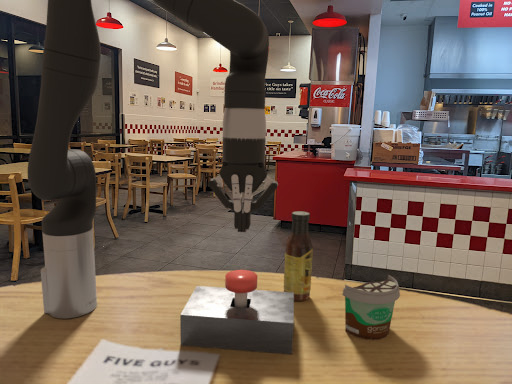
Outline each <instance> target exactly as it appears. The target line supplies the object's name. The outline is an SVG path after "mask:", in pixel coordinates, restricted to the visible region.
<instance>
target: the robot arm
mask: <svg viewBox="0 0 512 384" xmlns="http://www.w3.org/2000/svg"><path fill="white" fill-rule="evenodd" d="M152 1H153V2H155V4H157V5H158V6H159V7H161V8H162V9H163V10H164V11H166V12H168V13H169V14H170V15H172V16H174V17H175V18H177V19H178V20H179V21H181V22H183V23H185V24H186V25H188V26H190V27H191V28H193V29H195V30H196V31H199V32H201V33H204V34H205V35H207V36H208V37H210V38H211V39H212V40H214V41H215V42H217V43H218V44H219V45H221V46H222V47H224V48H225V49H227V50H228V51H229V73H228V75H227V76H226V78H225V83H224V90H223V91H224V94H223V95H224V96H223V97H224V104H223V105H224V107H223V108H224V109H223V118H222V119H223V120H222V159H221V160H222V165H221V167H220V169H219V174H218V175H217V176H215V177H213V178H211V179H210V180H209V181H208V182H207V185H208V187H209V188H210V190H211V191H212V192H213V193H214V195H215V196H216V197H217V198H218V200H219V201H220V203H221V204H222V205H223V206H224V208H226V209H230V210H232V211H233V213H234V215H233V219H234V221H233V222H234V223H233V225H234V229H237V233H247V230H249V229H250V228H251V227H250V226H252V223H251V221H252V220H251V218H252V217H251V216H252V211H255V210H257V211H258V210H260V209H261V208H262V206H263V205H264V204H265V203H266V202H267V200H268V199H269V198H270V197H271V195H273V193H274V192H275V191H276V190H277V189H278V187H279V183H278V181H276V180H273V178H271V177H270V176H269V175H268V169H267V167H266V142H267V141H266V139H267V138H266V136H267V120H266V110H265V109H266V74H267V70H268V69H267V67H268V61H269V51H270V49H269V48H270V39H269V37H270V35H269V32H268V30H267V26H266V25H265V24H264V22H263V20H262V18H261V16H259V14H257V13H256V12H255V11H253V10H252V9H250V8H249V7H247V6H245V5H244V4H243V3H240V2H239V1H236V0H152ZM46 9H47V11H46V22H45V23H46V25H45V36H44V43H43V50H42V62H41V80H40V91H39V98H38V99H39V100H38V109H37V115H36V123H35V127H34V133H33V138H32V142H31V147H30V151H29V157H28V162H27V163H28V164H27V171H26V172H27V180H28V181H27V182H28V185H29V188H30V190H31V192H32V193H33V195H35V196H36V198H37V199H39V200H42V201H55V200H57V202H56V205H55V206H54V207H53V208H52V209H51V210H50V211H49V212H48V213H47V214H45V215H44V216H43V217H42V219H41V233H42V243H43V245H42V246H43V254H44V266H43V267H42V268H41V269H40V279H41V280H40V281H41V292H42V304H43V313H44V314H49V315H50V316H51V317H53V318H54V319H55V318H56V319H74V318H78V317H82V316H85V315H87V314H89V313H91V312H92V311H94V310H95V308H96V307H97V306H98V303H97V302H98V301H97V298H98V295H97V282H96V281H97V280H96V279H97V278H96V262H95V261H96V259H95V258H96V257H95V242H94V227H93V225H94V223H93V222H94V218H95V215H96V212H97V176H96V174H97V173H96V168H95V165H94V162H93V159H91V157H90V155H89V154H87V152H85V151H83V150H81V149H74V148H73V149H69V146H70V145H69V144H70V140H71V135H72V131H73V129H74V127H75V124H76V123H77V121H78V120H79V117H80V116H81V115H82V114H83V112H84V110H86V107H87V106H88V104H89V103H90V101H91V99H92V98H93V95H94V94H95V93H96V92H95V91H96V89H97V86H98V81H99V73H100V67H101V57H102V56H101V55H102V48H101V41H100V36H99V32H98V27H97V23H96V19H95V15H94V11H93V4H92V0H47V6H46ZM263 182H264V184H263ZM224 184H225V185H226V186H227V188H228V189H229V190H230V191H231V192H232V198H231V196H229V194H228V193H227V191H226V190H225V188H223V186H224ZM262 184H263V189H264V191H263V192H262V193H261V194H260V195H259V196H258V198H257V199H256V200H254V201H253V196H254V193H255V192H256V191H258V189H259V188H260V187H261V185H262ZM243 193H244V194H243ZM243 195H244V196H243ZM243 200H244V201H243Z"/></svg>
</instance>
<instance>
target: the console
mask: <svg viewBox="0 0 512 384" xmlns="http://www.w3.org/2000/svg"><path fill="white" fill-rule="evenodd" d="M234 302H235V292H231V291H229V290H227V289H226V287H220V286H219V287H218V286H207V285H206V286H204V285H196V287H195V288H194V289H193V292H192V294H191V295H190V296H189V299H188V300H187V302H186V304H185V305H184V308H183V309H182V311H181V313H180V315H179V317H180V321H179V323H180V324H179V325H180V331H179V332H180V346H183V347H184V346H185V347H195V348H196V347H197V348H209V349H222V350H232V351H233V350H234V351H244V352H245V351H246V352H259V353H269V354H270V353H271V354H284V355H293V347H294V346H293V341H294V328H295V327H294V326H295V325H294V322H295V321H294V320H295V317H294V315H295V314H294V312H295V311H294V309H295V307H294V306H295V304H294V303H295V301H294V292H284V291H277V290H265V289H263V290H262V289H255V290H254V291H252V292H248V293H247V308H242V307H234Z"/></svg>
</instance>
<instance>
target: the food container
mask: <svg viewBox="0 0 512 384" xmlns="http://www.w3.org/2000/svg"><path fill="white" fill-rule="evenodd" d="M342 296H343V297H344V303H345V304H344V306H345V307H344V308H345V309H344V310H345V311H344V312H345V313H344V314H345V316H344V317H345V318H344V319H345V320H344V321H345V324H344V325H345V327H344V328H345V329H344V330H345V332H346V333H348V334H349V335H350V336H353V337H356V338H359V339H363V340H371V341H374V340H383V339H384V338H386V337H387V336H388V335H389V333H390V329H391V324H392V318H393V313H394V308H395V302H396V301H397V300H399V298H400V296H401V292H400V286H399V283H398V281H397V279H395V278H394V277H392V276H391V275H389V274H388V275H387V279H384V280H381V281H369V282H365V283H362V284H360V285H358V286H354V287H352V286H349V285H348V284H344V287H343V291H342Z"/></svg>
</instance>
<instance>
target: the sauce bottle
mask: <svg viewBox="0 0 512 384" xmlns="http://www.w3.org/2000/svg"><path fill="white" fill-rule="evenodd" d="M310 215H311V214H310V212H307V211H293V212H291V228H290V229H291V233H290V234H289V235H288V236H287V239H286V242H285V253H284V270H283V273H284V274H283V292H294V302H301V301H306V300H308V299H309V297H310V294H311V287H312V286H311V285H312V267H313V251H314V247H313V243H312V240H311V237H310V233H309V221H310V217H311V216H310Z"/></svg>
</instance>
